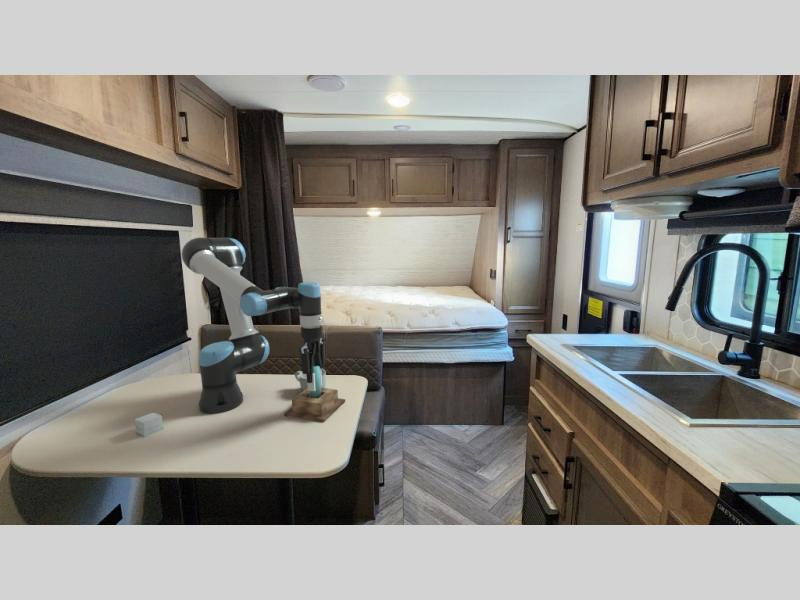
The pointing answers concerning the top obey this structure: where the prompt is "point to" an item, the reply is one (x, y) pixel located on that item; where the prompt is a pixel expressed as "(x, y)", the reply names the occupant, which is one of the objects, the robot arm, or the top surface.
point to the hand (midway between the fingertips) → (315, 387)
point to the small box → (148, 424)
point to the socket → (315, 405)
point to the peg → (316, 383)
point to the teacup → (303, 379)
